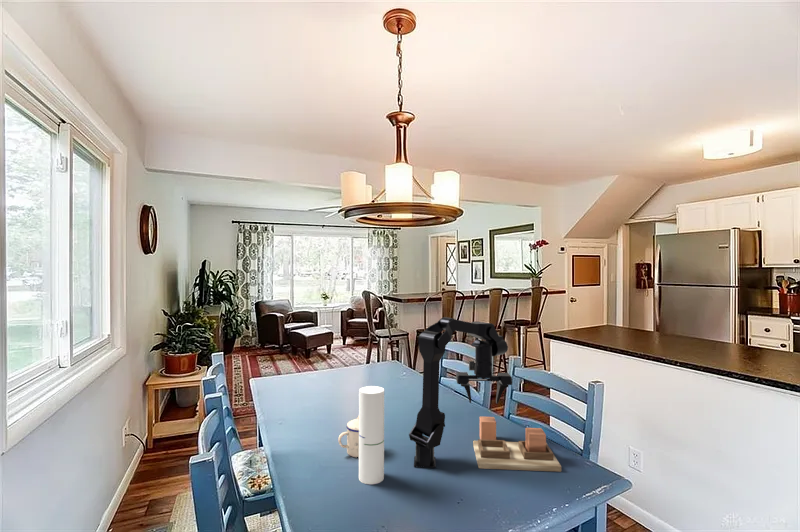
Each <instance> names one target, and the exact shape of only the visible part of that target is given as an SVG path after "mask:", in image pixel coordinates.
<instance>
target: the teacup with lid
mask: <svg viewBox="0 0 800 532" xmlns="http://www.w3.org/2000/svg"><path fill="white" fill-rule="evenodd" d="M346 430H347V431H343V432H341V433H340V434H339V436H338V438H337V439H338V444H339V446H340V447H341V448H343V449H346V453H347V455H348V456H350V457H353V458H357V457H358V458H357V459H359V415H358V416H357V418H355V419H352V420H351V419H350V420H349V421H347V424H346ZM344 436H346V439H347V440H346V444H343V443H342V439H343V437H344Z"/></svg>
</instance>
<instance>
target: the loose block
mask: <svg viewBox="0 0 800 532" xmlns="http://www.w3.org/2000/svg"><path fill="white" fill-rule="evenodd" d="M479 439H483V440H497V421H496V418H495V417H494V416H479Z"/></svg>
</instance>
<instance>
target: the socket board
mask: <svg viewBox="0 0 800 532" xmlns="http://www.w3.org/2000/svg"><path fill="white" fill-rule="evenodd" d="M472 446H473V450H474V455H475V458H476V463H477V466H478V469H483V470H484V469H487V470H489V469H490V470H508V471H509V470H510V471H511V470H512V471H518V470H519V471H531V472H533V471H534V472H535V471H537V472H538V471H539V472H557V473H558V472H560V473H561V472H562V465H561V463H560V462H559V460H558V459H557V457H556V456H555V453H554V452H553V451H552V449H551V448H550V446H549V444H548V443H547V435H546V432H545V431H544V430H543V429H542V427H525V440H518V441H506V440H505V439H496V440H483V439H480V438H478V439H477V440H473V442H472Z"/></svg>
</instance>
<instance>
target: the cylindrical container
mask: <svg viewBox="0 0 800 532" xmlns="http://www.w3.org/2000/svg"><path fill="white" fill-rule="evenodd" d="M358 416H359V458H358V480H359V481H360V482H361V483H362V484H365V485H377V484H380V483H382V482H383V481H384V478H385V389H384V387H381V386H377V385H367V386H363V387H360V388H359V389H358Z"/></svg>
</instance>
